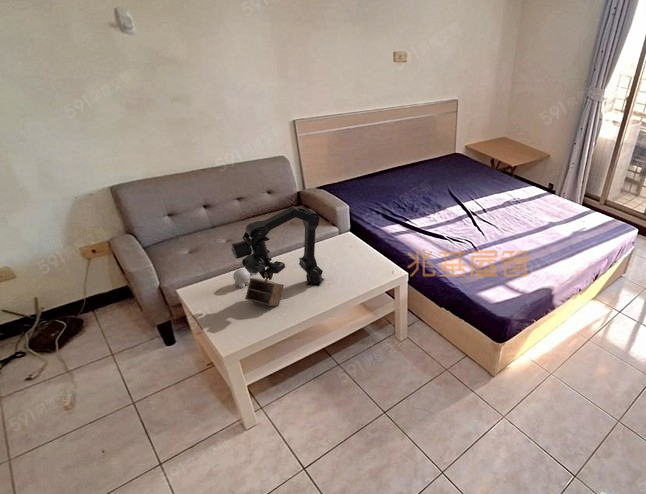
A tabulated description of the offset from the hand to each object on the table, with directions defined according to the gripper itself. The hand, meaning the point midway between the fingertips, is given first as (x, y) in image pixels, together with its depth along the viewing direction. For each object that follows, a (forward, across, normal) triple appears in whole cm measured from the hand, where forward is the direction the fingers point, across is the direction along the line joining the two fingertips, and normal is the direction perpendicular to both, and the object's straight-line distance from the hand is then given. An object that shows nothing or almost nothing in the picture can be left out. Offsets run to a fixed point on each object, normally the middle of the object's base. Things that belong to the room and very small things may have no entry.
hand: (267, 278), depth 190 cm
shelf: (+5, 0, +1) cm, 5 cm away
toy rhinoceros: (+12, -19, +6) cm, 24 cm away
